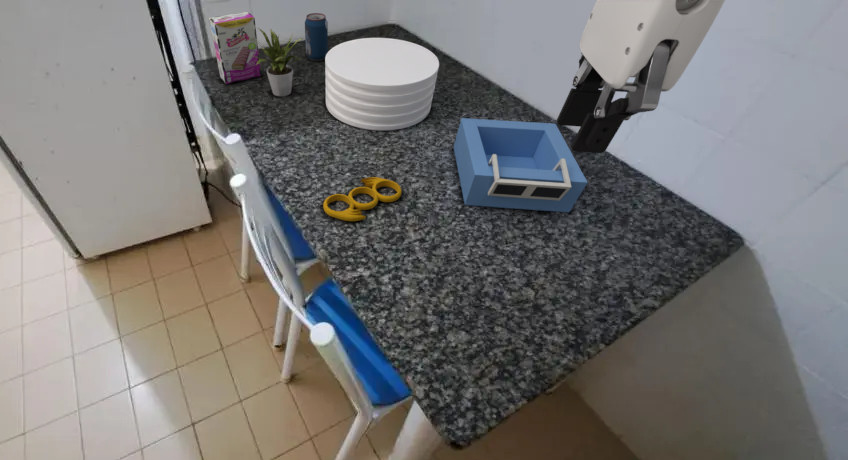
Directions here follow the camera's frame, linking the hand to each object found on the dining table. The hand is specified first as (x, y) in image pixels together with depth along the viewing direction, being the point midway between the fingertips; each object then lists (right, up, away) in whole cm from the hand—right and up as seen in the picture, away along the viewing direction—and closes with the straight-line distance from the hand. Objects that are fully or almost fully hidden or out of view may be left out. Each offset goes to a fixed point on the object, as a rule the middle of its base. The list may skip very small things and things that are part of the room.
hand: (579, 135), depth 41 cm
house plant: (-42, +29, +67) cm, 84 cm away
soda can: (-32, +45, +83) cm, 100 cm away
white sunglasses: (+10, -1, +34) cm, 35 cm away
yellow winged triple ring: (-20, -4, +36) cm, 42 cm away
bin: (+11, +1, +42) cm, 43 cm away
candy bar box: (-53, +35, +73) cm, 97 cm away
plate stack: (-14, +24, +64) cm, 70 cm away
